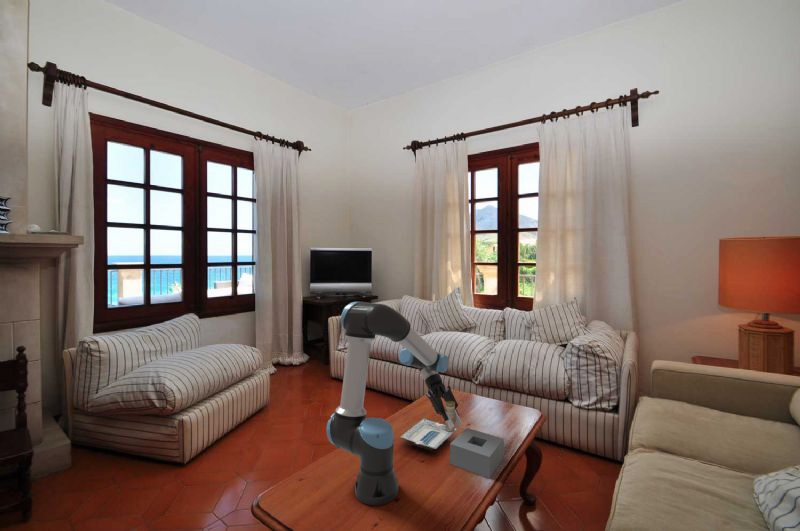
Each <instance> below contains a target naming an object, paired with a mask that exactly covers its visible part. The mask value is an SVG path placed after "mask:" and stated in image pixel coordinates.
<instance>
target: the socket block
mask: <svg viewBox="0 0 800 531" xmlns="http://www.w3.org/2000/svg"><path fill="white" fill-rule="evenodd" d="M504 439H505V438H502V437H499V436H497V435H492V434H489V433H486V432H482V431H479V430H475V429H473V428H468V427H466V428H465V429H463V430H462V432H461V433H459V435H458V436H457V437H455V439H453V440H452V441H451V442H450V444H449V465H452V466H455V467H457V468H459V469H462V470H465V471H468V472H469V473H472V474H473V473H474V474H476V475H479V476H480V477H481V476H482V477H484V478H487V479H488V480H489V479H491V477H492V475H493V474H494V472H496V470H497V468H498V467H499V465H500V464H501V463H502V461H503V460H504V457H505V455H504V450H505V448H504V446H505V445H504V443H505V442H504Z"/></svg>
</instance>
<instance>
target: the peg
mask: <svg viewBox="0 0 800 531" xmlns="http://www.w3.org/2000/svg"><path fill="white" fill-rule="evenodd" d="M445 412H448V414H449V416H450V418H451V420H452V422H453V424H454V427H453V428H452V429H450V428H449V426H448V424H447V422H446V421H445V420H444V422H445V424H444V426H445V430H444V431H446V432H448V433H454V432H455V430H456V425H455V424H456V422H455V402H453V401H447V402H445Z"/></svg>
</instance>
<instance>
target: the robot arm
mask: <svg viewBox="0 0 800 531" xmlns="http://www.w3.org/2000/svg"><path fill="white" fill-rule="evenodd" d="M340 324H341V326H342V328H343V330H345V333H344V336H345V338H346V339H347V341H348V342H347V348H346V349H347V350H346V355H345V356H346V357H345V365H344V372H343V381H342V387H341V388H342V389H341V396H340V403H339V404H340V405H338V406H337V407H336V408H335V412H334V413H332V414H331V415H330V419H328V421H327V424H326V436H327V439H328V441H329V442H330V444H332V445H334V446H335V447H336V448H338V449H341V450H343V451H345V452H348V453H350V454H352V455H354V456H356V457H358V458H359V472H358V474H357V477H356V480H355V484H354V494H355V495H354V496H355V497H356V499H357V500H358V501H359V502H361V503H362V504H364V505H367V506H368V505H369V506H383V505H387V504H388V503H390V502H391V503H392V501H394V499H396V497H397V496H398V494H399V481H398V478H397V474H396V472H395V468H394V446H395V445H394V442H395V441H394V440H395V437H394V430H393V426H392V424H391V423H390V422H389V421H388V420H386V419H384V418H381V417H375V416H374V417H367V410H366V408H365V407H364V402H365V396H366V385H367V378H368V369H369V368H368V367H369V359H370V351H371V343H372V342H373V341H374V340H375V339H376V336H381V337H384V338H387V339H389V340H390V341H392V342H394V343H398V344H400V345H401V346H402V347H403V348H402V349H401V350H400V352H399V353H398V358H399V359H398V360H399V362H400V363H401V364H402V365H405V366H409V367H413V368H418V371H419V373H420V375H421V377H422V379H423V381H424V382H425V383H424V384H425V385H426V387H427V389H428V391H427V392H426V394H425V395H426V397H427V398H428V400H429V401H430V403H431V405H432V407H433V410H434V411H435V413H436V414H437V415H439V416H442V418H443V420H444V422H445V421H446V422H447V424H448V426H449V428H450V429H452V428H453V427H454V424H453V422H452V420H451V418H450V416H449V414H448V412H446V407H445V406H444V403H443V400H444V402H445V403H446V402H447V401H453V402H455V424H456V426H457V427H459V426H461V425H462V424H463V422H462V420H461V418H460V413H459V412H458V410H457V408H458V407H459V404H458V402H457V400H456V397H455V395H454V393H453V391H452V388H451V386H450V385H448V386H446V385H445V384H444V383H443V380H442V379H443V378H442V377H441V375H440V374H439V373H445V372H447V370H448V369H449V365H450V360H449V357H448V356H447V355H446V354H443V353H438V352H437V351H436V350H435V349H434V348H433V347H432V346H431V345H430V344H429V343H428V342H427V341H426V340H425V339H424V338H422V336H421V335H419V334H418V333H417V332H416V331H415V330H414V329H413V328H412V327H411V322H410V321H409V320H407V318H406V317H405V316H403V315H402V314H401V313H400V312H398V310H396V309H394V308H392V306H391V307H390V306H389V305H386V304H383V303H374V302H366V301H353V302H350V303H348V304H347V305H346V306H345V307H344V309H343V311H342V313H341V315H340ZM442 399H443V400H442Z"/></svg>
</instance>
